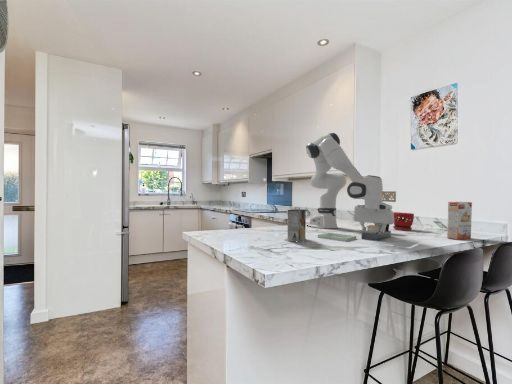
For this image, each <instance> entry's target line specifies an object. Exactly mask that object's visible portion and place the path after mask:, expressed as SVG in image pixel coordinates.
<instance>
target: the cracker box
mask: <svg viewBox="0 0 512 384" xmlns="http://www.w3.org/2000/svg"><path fill="white" fill-rule="evenodd" d="M447 205H448V206H447V232H446V233H447V237H446V238H447V239H449V240H456V241H457V240H467V239H469V240H470V239H471V238H472V214H473V213H472V212H473V209H472V207H473V203H472V202H471V201H448V203H447Z"/></svg>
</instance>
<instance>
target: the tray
mask: <svg viewBox="0 0 512 384" xmlns="http://www.w3.org/2000/svg"><path fill="white" fill-rule="evenodd" d="M317 238H318V239H324V240H325V239H326V240H333V241H340V242H349V241H354V240H357V235H353V234H352V235H351V234H343V233H335V232H326V233H319V234H317Z"/></svg>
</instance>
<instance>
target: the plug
mask: <svg viewBox="0 0 512 384" xmlns="http://www.w3.org/2000/svg"><path fill="white" fill-rule="evenodd" d="M366 231H367V233H374V234H377V233H379V226H376V225H375V224H373V225H372V224H370V225H367V226H366Z"/></svg>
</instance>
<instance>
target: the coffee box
mask: <svg viewBox="0 0 512 384" xmlns="http://www.w3.org/2000/svg"><path fill="white" fill-rule="evenodd" d="M306 212H307V211H306V209H303V208H302V209H301V208H293V209H287V241H288V242H290V241H297V242H296V243H301V242H303V241H304V240H306V229H307V228H306V227H307V224H306V222H307V221H306V216H307V215H306V214H307V213H306ZM300 241H301V242H300Z"/></svg>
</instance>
